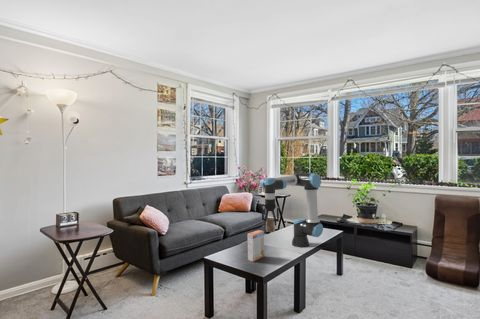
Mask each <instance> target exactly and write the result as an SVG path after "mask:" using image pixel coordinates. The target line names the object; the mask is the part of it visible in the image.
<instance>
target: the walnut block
mask: <svg viewBox="0 0 480 319" xmlns="http://www.w3.org/2000/svg"><path fill="white" fill-rule="evenodd" d="M266 221H267V230H266V232H269V233H274V232H275V230H274V217H267V220H266Z"/></svg>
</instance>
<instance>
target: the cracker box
mask: <svg viewBox="0 0 480 319" xmlns="http://www.w3.org/2000/svg"><path fill="white" fill-rule="evenodd" d="M263 258H265V231H264V230H260V229H257V230H255V231H252V232H248V233H247V261H249V262H253V263H254V262H257V261H259V260H261V259H263Z"/></svg>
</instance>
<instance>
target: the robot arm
mask: <svg viewBox="0 0 480 319" xmlns="http://www.w3.org/2000/svg"><path fill="white" fill-rule="evenodd" d="M321 184H322V180H321V177H320V176H319V174H318V173H311V172H307V173H306V172H300V173H299V172H298V173H295V174H294V173H293V174H290V175H288V176H278V177H266V178H265V177H264V178H261V179H260V181H259V185H260V187H261V188H262V189H263V188H264V198H265V199H264V206H261V207H260V208H261V220H262V221H263V222H264V223H263V224H264V226H265V230H266V231H267V218H268V214H269V212H271V213H272V218H274V231H276V227H277V222H278V221H279V220H280V217H279V216H280V214H279V212H280V207H279V206H277V205H276V191H279V190H284V189H286V188H287V186H300V187H304V189H303V190H304V191H305V193H306V213H307V218H295V219H294V220H293V237H292V241H291V245H292V246H294V247H296V248H306V247H309V246H310V242H309V238H308V236H310V237H313V238H319V237H320V236H321V235H322V234H323V232H324V225H323V224H322V223H321V220H320V219H319V216H318V214H319V213H318V193H317V191H319V188H320V187H321ZM275 209H276V212H275ZM265 210H266V212H265ZM275 213H276V214H275Z"/></svg>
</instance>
